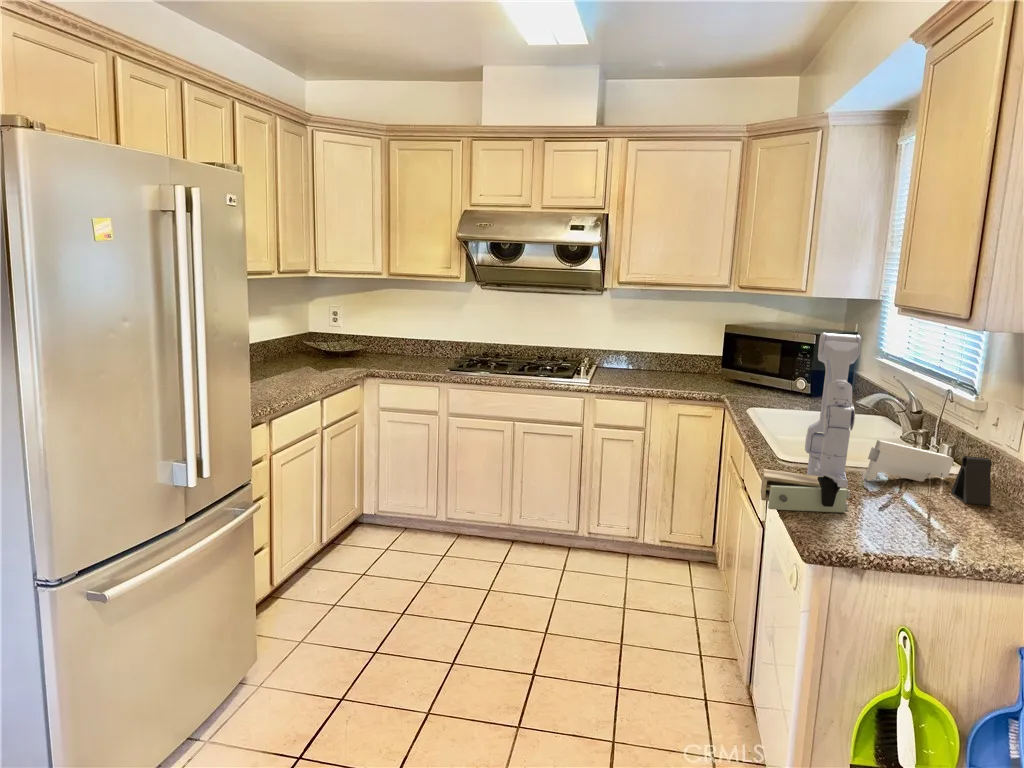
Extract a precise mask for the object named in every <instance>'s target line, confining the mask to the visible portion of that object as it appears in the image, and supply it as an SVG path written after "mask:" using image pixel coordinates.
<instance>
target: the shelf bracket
mask: <svg viewBox="0 0 1024 768" xmlns="http://www.w3.org/2000/svg"><path fill="white" fill-rule="evenodd" d="M867 459H868V460H869V463H868V467H867V469H866V472H865V474H864V477H863V480H866V481H867V482H870V481H873V480H874V479H876V478H877V477H878V473H879V472H882V473H884V474H886V475H890V476H896V477H899V478H904V479H908V480H911V481H912V480H913V481H917V482H925V480H927V479H932V478H934V477H936V478H937V477H938V478H942V479H947V478H948V477H949V475H950V472H951V469H952V467H953V463H954V462H955V461H954V458H953V457H951V456H949V455H945V454H943V453H938V452H934V451H929V450H925V449H920V448H918V447H917V448H916V447H912V446H911V447H910V446H907V445H902V444H898V443H893V442H890V441H884V440H880V439H877V440H876V443H875V445H874V446H871V448H870V451H869V455H868V457H867Z"/></svg>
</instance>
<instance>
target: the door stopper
mask: <svg viewBox="0 0 1024 768" xmlns="http://www.w3.org/2000/svg"><path fill="white" fill-rule="evenodd" d="M991 469H992V459H991V458H990V457H981V456H980V457H979V456H966V455H964V456H963V457H962V459H961V465H960V468H959V471H958V473H957V476H956V477H955V480H954V483H953V485H952V487H951V491H950V493H951V494H952V495H953V496H955V497H956V498H958V500H960V501H961V502H963V503H964V504H967V505H980V506H988V507H990V506H991V505H992V503H991V500H992V499H991V491H992V489H991V488H992V487H991Z"/></svg>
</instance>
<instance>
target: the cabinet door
mask: <svg viewBox="0 0 1024 768" xmlns="http://www.w3.org/2000/svg"><path fill="white" fill-rule="evenodd" d="M850 495H851V490H850V489H848V490H847V489H841V488H840V489H839V491H838V492H837V494H836V498H835V502H834V505H833V507H826V506H823V505H822V500H821V496H822V492H821V488H818V487H795V486H773V485H771V487H770V495H769V501H768V506H767V509H768V510H778V511H779V510H780V511H781V510H782V511H801V512H821V513H822V512H825V513H828V512H829V513H845V512H847V513H848V510H849V502H847V500H849V499H850Z"/></svg>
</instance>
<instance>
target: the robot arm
mask: <svg viewBox="0 0 1024 768" xmlns="http://www.w3.org/2000/svg"><path fill="white" fill-rule="evenodd" d="M861 350H862V337H861V336H860V334H846V333H845V334H843V333H829V332H828V333H827V332H822V333H821V334H820V336H819V340H818V352H817V359H818V361H819V362H821V363H823V364H824V367H825V372H824V373H825V374H824V380H823V381H824V382H823V389H822V390H823V391H822V397H821V406H820V413H819V420H817V421H815V422H814V423H812V424H810V425H809V426H808V427H807V432H806V436H805V441H804V442H805V444H804V451H805V452H806V454H808V455H809V456H808V463H807V470H806V475H814V476H822V477H818V478H817V479H818V481H819V484H820V487H821V492H822V496H821V500H822V505H823V506H826V507H833V505H834V502H835V498H836V494H837V492H838V491H839V489H840V488H841V487H845V488H847V487H848V483H849V480H848V479H847V474H846V473H847V472H846V467H847V466H846V464H847V458H848V457H847V456H848V451H849V443H850V436H851V431H853V429H854V425H855V419H856V412H855V405H854V403H853V386H852V384H851V383H850V382H848V378H849V371H850V365H853V364H855V362H856V361H857V359H858V358H859V356H860V354H861Z"/></svg>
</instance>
